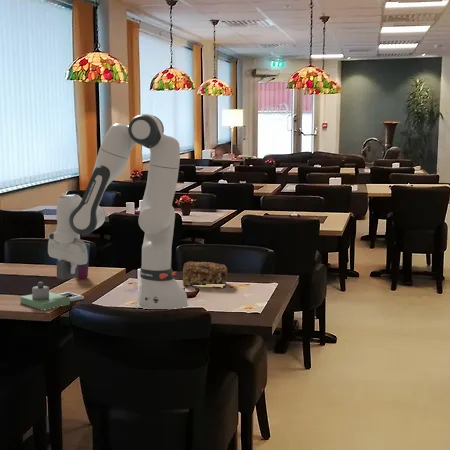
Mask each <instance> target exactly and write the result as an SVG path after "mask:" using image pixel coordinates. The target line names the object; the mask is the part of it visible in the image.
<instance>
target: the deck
mask: <svg viewBox="0 0 450 450" xmlns="http://www.w3.org/2000/svg"><path fill="white" fill-rule="evenodd" d="M31 291H32V292H31V294H27V295H26V294H25V295H21V296H20V304H22V305H25V304H26V305H25V306H28V305H29V306H28V307H31V306H32V308H33V307H35V308H34V309H36V308H39V309H42V310H44V309H49V308H53V307H57V306H61V305H63V306H62V307H65V306H70V305H71V302H70V298H69V296H68V297H65V296H61V295H58V294H59V293H54V292H51V291H50V286H47V285H44V282H43V281H38V282H37V286H33V287H32V290H31ZM57 308H58V307H57ZM39 309H38V310H39ZM53 309H54V308H53ZM42 310H41V311H42ZM49 310H50V309H49ZM44 311H45V310H44Z"/></svg>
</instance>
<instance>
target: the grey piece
mask: <svg viewBox="0 0 450 450" xmlns="http://www.w3.org/2000/svg"><path fill="white" fill-rule="evenodd" d="M71 266H72V265H71V262H67V261H64V260H60V261H58V260H57V262H56V279H59V280H63V281H64V280H69V279H76V277H78V264H77V267H76V269H75V273H74V274H70V273H69V269H71Z"/></svg>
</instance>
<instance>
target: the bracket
mask: <svg viewBox="0 0 450 450" xmlns="http://www.w3.org/2000/svg"><path fill="white" fill-rule="evenodd" d="M57 294H58V295H61V296H68V298H70V301H71V302H76V301H81V300H84V298H85V297H84V295H82V294H77V293H73V292H72V291H65V292H61V293H57ZM69 295H73V296H74V297H73V296H69ZM71 302H70V303H71Z"/></svg>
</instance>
